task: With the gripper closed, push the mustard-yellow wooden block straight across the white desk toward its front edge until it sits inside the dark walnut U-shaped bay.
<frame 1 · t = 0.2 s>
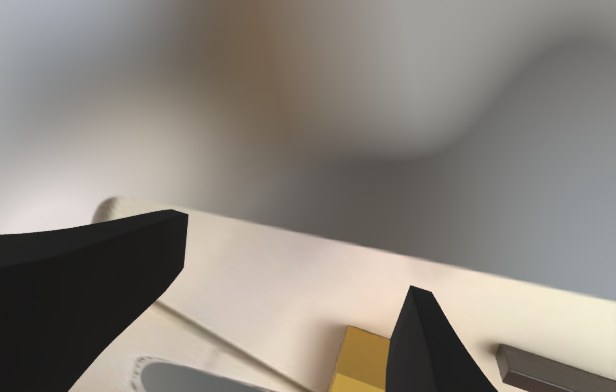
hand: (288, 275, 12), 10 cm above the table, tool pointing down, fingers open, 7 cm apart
block: (387, 384, 25), on the table
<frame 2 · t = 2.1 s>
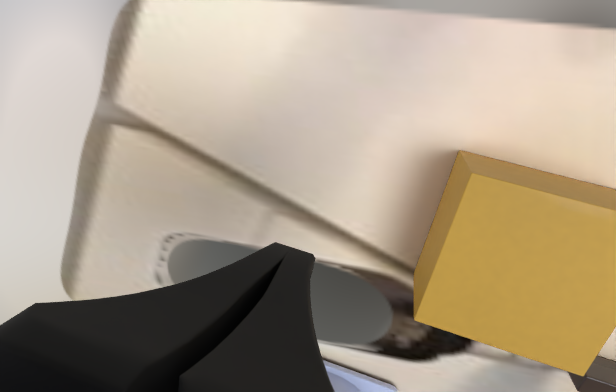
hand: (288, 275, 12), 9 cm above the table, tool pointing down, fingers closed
block: (506, 236, 18), on the table
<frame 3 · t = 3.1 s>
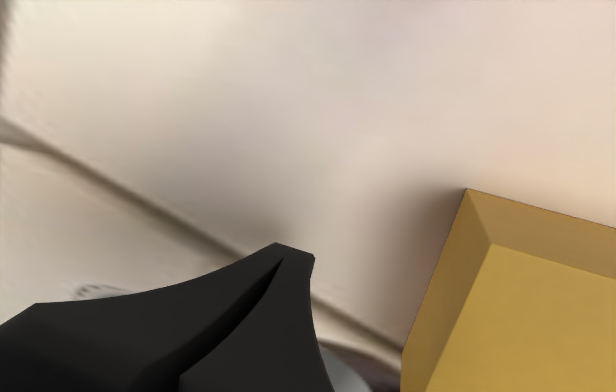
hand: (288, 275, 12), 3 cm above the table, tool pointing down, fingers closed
block: (534, 311, 13), on the table
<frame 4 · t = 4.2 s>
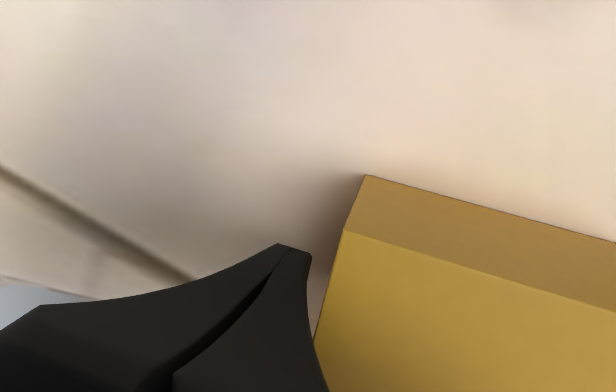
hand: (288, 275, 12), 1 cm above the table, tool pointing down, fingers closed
block: (445, 308, 12), on the table, touching gripper
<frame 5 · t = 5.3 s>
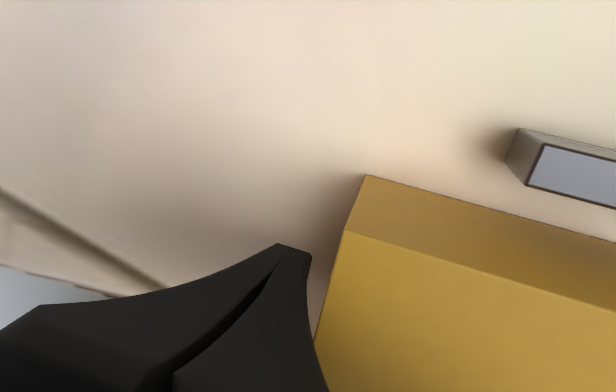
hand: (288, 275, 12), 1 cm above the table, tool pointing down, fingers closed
bay: (577, 352, 11), on the table
block: (446, 308, 12), on the table, touching gripper
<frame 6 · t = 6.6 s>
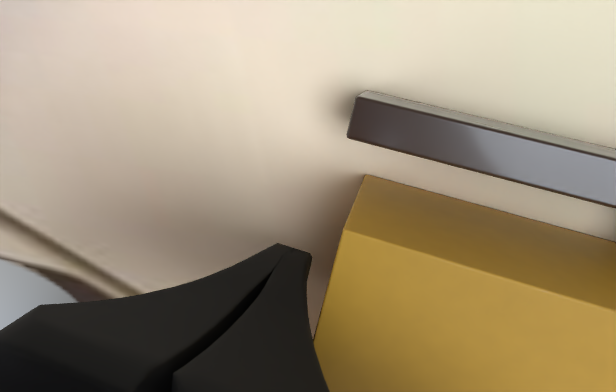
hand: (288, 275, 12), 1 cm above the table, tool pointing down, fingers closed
bay: (442, 307, 12), on the table
block: (446, 307, 12), on the table, touching gripper
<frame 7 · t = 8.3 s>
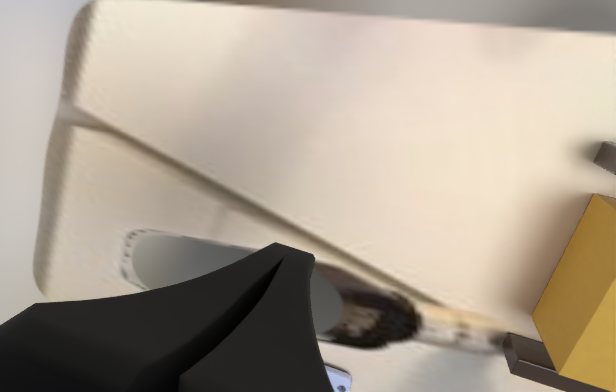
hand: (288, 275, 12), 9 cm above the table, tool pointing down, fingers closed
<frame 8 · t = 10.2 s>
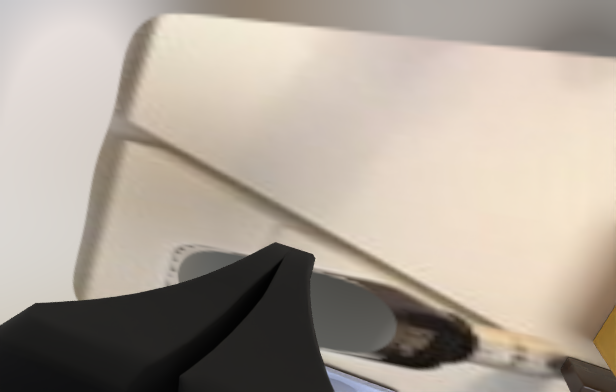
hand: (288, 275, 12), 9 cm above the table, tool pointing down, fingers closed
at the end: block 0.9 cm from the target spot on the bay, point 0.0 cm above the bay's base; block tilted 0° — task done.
